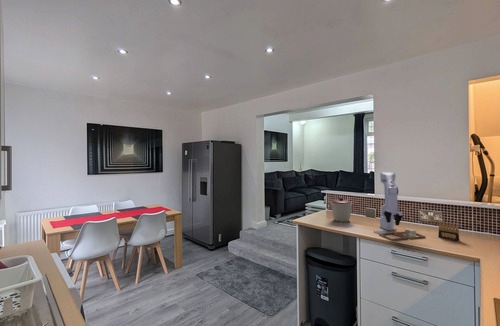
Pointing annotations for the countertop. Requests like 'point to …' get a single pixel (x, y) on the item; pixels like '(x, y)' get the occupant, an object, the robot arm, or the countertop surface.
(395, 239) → the tray near
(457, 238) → the ammunition clip
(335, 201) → the canister
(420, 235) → the tray far
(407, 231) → the cube
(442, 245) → the countertop surface
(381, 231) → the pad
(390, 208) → the robot arm
